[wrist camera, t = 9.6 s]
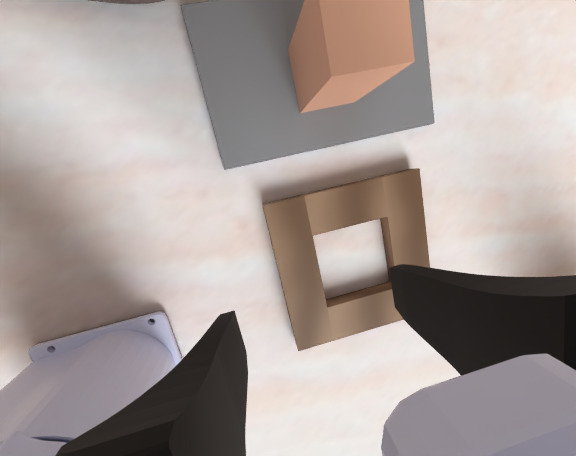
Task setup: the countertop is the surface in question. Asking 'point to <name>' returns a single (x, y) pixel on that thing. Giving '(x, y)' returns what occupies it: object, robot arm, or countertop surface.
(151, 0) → the perforated stone tool
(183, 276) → the countertop surface
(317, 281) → the walnut pocket plate
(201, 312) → the countertop surface
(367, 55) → the terracotta block
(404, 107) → the slate mat
